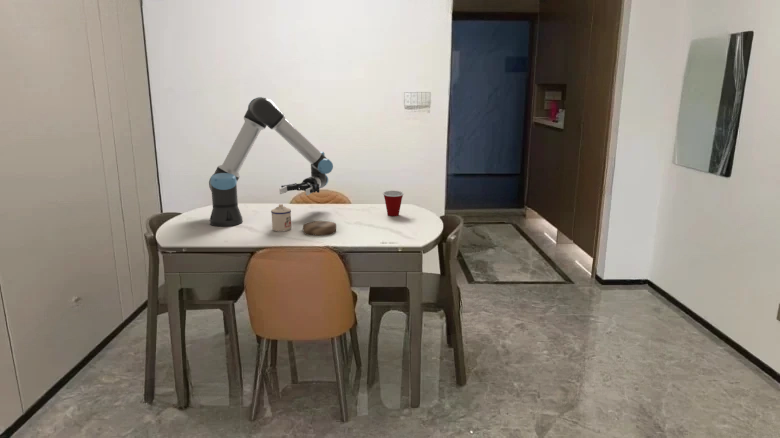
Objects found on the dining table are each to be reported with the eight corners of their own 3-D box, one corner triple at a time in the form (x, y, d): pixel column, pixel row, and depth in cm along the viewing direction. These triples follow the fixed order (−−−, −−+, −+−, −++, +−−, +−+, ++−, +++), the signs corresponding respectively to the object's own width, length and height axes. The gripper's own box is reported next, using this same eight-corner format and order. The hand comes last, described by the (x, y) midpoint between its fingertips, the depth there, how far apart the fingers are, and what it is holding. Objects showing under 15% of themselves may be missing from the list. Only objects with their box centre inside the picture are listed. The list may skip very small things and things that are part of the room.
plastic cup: (382, 217, 273) (382, 194, 271) (382, 213, 284) (382, 190, 281) (404, 217, 274) (404, 194, 271) (403, 212, 284) (403, 190, 281)
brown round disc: (297, 234, 241) (297, 227, 241) (311, 226, 256) (311, 220, 255) (328, 236, 238) (328, 229, 237) (341, 228, 252) (340, 222, 251)
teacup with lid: (288, 232, 245) (287, 206, 242) (269, 231, 246) (267, 206, 243) (296, 225, 257) (295, 201, 254) (277, 225, 258) (276, 201, 255)
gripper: (334, 192, 276) (317, 200, 256) (289, 190, 282) (270, 198, 263) (333, 177, 274) (317, 185, 254) (288, 176, 281) (269, 183, 261)
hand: (293, 191), depth 258 cm, fingers open, 13 cm apart
